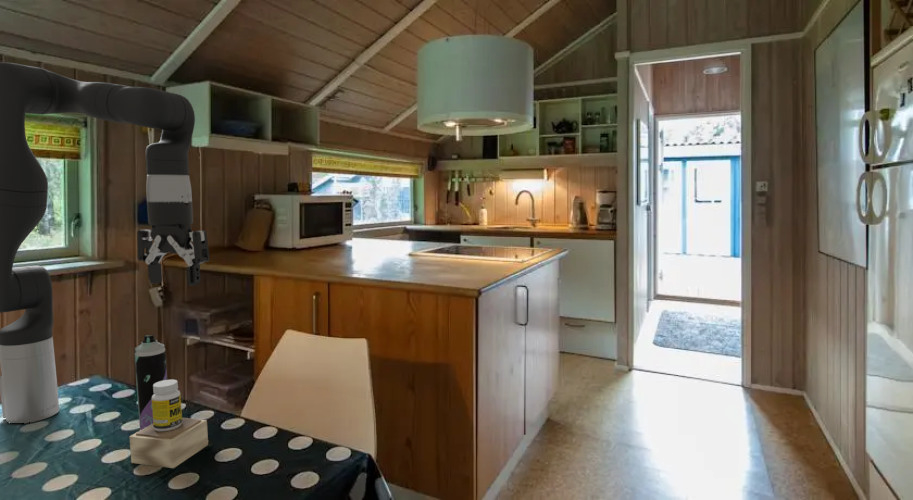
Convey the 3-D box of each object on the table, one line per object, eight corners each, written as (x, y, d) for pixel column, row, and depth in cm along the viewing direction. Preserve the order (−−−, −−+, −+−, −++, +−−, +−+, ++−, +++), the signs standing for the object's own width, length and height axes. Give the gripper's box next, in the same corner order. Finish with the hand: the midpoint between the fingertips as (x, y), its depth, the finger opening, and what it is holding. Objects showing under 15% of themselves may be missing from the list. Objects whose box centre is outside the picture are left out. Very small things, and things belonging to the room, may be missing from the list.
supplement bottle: (173, 432, 96) (170, 387, 95) (148, 432, 96) (144, 387, 95) (187, 421, 101) (184, 378, 100) (163, 421, 101) (160, 378, 100)
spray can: (147, 437, 105) (140, 340, 103) (135, 430, 109) (128, 336, 107) (175, 428, 110) (169, 334, 108) (163, 421, 113) (156, 330, 111)
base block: (131, 462, 96) (129, 434, 95) (168, 440, 104) (167, 414, 104) (173, 468, 94) (171, 439, 93) (208, 444, 102) (206, 418, 102)
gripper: (122, 199, 98) (128, 285, 99) (187, 200, 94) (192, 289, 96) (154, 199, 105) (159, 279, 107) (215, 199, 101) (219, 282, 103)
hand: (174, 284), depth 101 cm, fingers open, 8 cm apart
